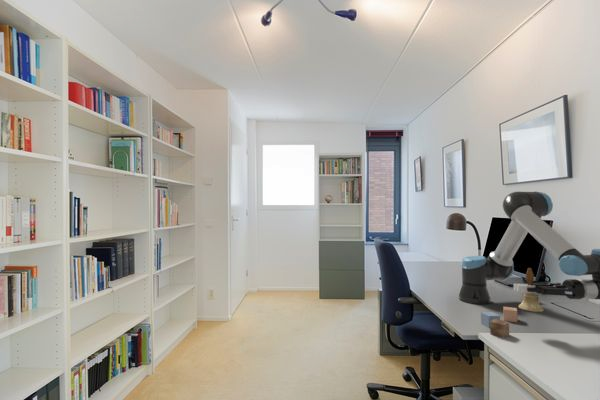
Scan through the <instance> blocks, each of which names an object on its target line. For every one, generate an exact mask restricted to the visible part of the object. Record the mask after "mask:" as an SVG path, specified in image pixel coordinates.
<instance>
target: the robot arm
mask: <svg viewBox="0 0 600 400" xmlns="http://www.w3.org/2000/svg"><path fill="white" fill-rule="evenodd" d="M553 206H554V204H553V202H552V198H551V197H550V196H549V195H548V194H547V193H545V192H541V191H514V192H513V191H512V192H511V193H509V194H508V195H506V196H505V197H504V199H503V201H502V208H503V211H504V214H505V215H506V216H507V217H508V218H509V219H510V220H511V221H510V223H509V224H508V227H507V229H506V231H505V232H504V234H503V236H502V238H501V240H500V242H499V243H498V244H497V247H496V249H495V250H494V251H490V253H489V255H488V256H487V258H486V256H483V255H470V256H465V257H463V258H462V262H461V279H462V282H461V283H462V284H461V287H460V291H459V294H458V300H459V301H462V302H463V303H464V302H465V303H468V304H475V305H476V304H477V305H487V304H490V303H491V300H492V299H491V296H490V292H489V290H488V288H487V285H488V284H487V281H502V280H508V279H509V278H511V277H512V276H513V274H514V272H515V269H514V268H515V266H514V261H513V258H514V257H515V255H516V253H517V252H518V250H519V249H520V246H521V245H522V243H523V241H524V240H525V239H526V236H527V235H528V233H529V234H530V235H531V236H532V237H533V238H534V240H536V241H537V243H539V244H540V245H541V246H542V247H543V248H545V249H546V250H547V251H548V253H549V254H551V255H552V256H553V257H554V258H555V259H557V261H558V267H559V269H560V271H561V272H562V273H564V274H565V275H567V276H573V277H575V276H576V277H581V276H589V275H590V276H591V277H592V278H591V279H582V278H580V279H575V278H574V279H573V278H572V279H571V278H570V279H569V278H568V279H565V280H564V281H562V283H561V282H555V283H552V282H550V281H546V282H533V285H528V283H513V291H514V292H517V293H522V294H523V293H524V294H526V293H534V294H541V295H544V296H545V295H546V296H548V295H549V296H562V297H563V296H564V297H567V298H568V299H569V300H585V301H589V300H600V248H593V249H591V251H590V254H584V253H583V254H582V253H581V252H580V250H578V249H576V247H574V246H573V244H571V243H570V242H569V241H568V240H566V239H565V238H564V237H563V236H562V235H561V234H560V233H558V232H557V231H556V230H555V229H554V228H552V226H550V225H549V224H548V223H547V222H546V221H544V220H543V218H542V217H546V216H548V215H549V214H551V213H552V211H553V208H554V207H553Z"/></svg>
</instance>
